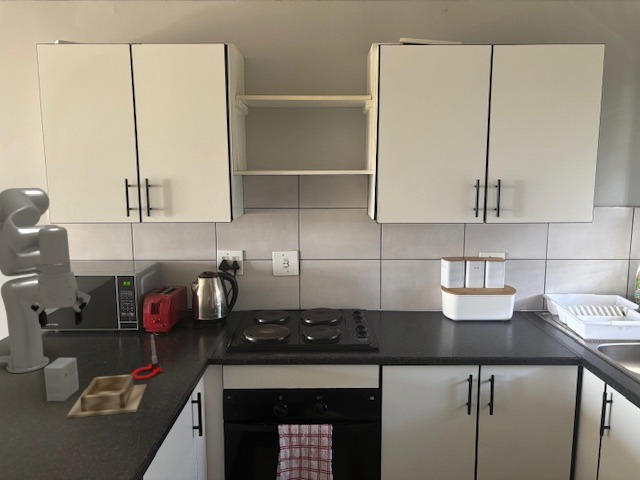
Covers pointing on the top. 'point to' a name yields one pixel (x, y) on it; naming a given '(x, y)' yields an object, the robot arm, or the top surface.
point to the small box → (61, 379)
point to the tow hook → (153, 365)
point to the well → (109, 397)
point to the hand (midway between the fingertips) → (61, 324)
